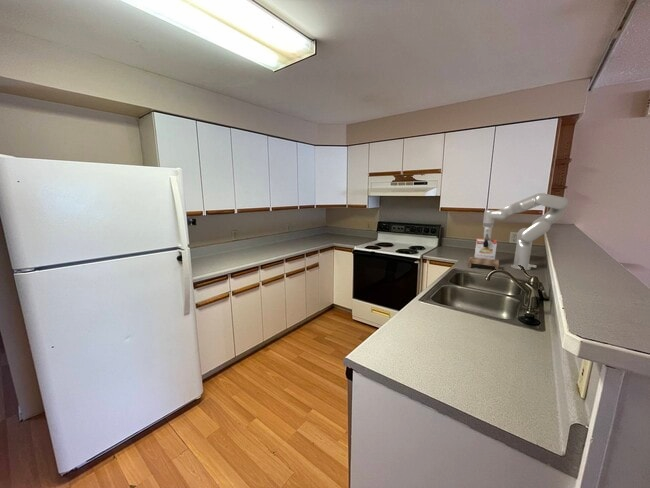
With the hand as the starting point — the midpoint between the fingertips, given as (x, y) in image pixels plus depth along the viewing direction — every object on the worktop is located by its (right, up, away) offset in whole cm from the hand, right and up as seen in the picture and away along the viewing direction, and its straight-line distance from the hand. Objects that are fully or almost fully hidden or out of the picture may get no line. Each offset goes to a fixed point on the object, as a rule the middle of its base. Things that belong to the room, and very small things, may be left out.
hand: (485, 246), depth 217 cm
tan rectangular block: (-7, -17, -8) cm, 20 cm away
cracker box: (0, -15, +3) cm, 16 cm away
